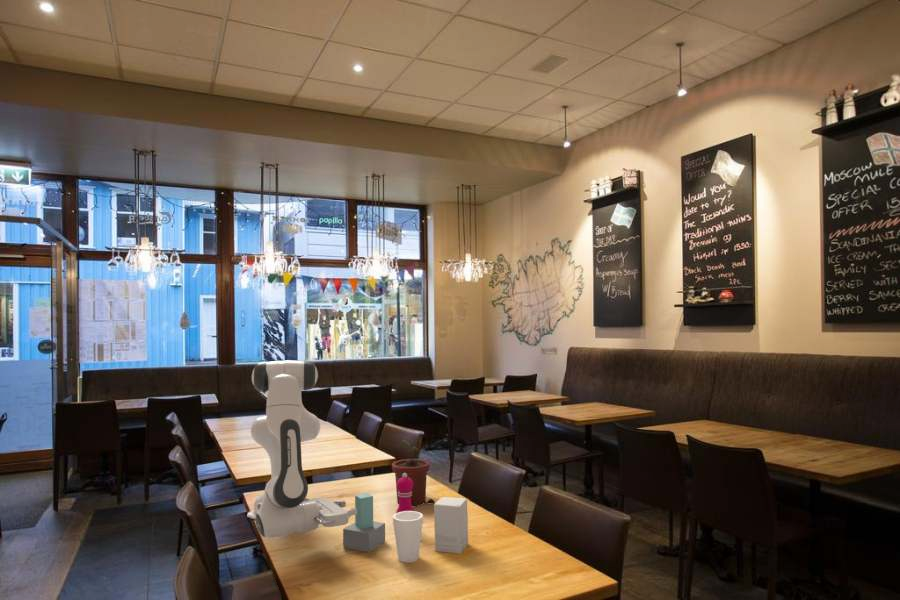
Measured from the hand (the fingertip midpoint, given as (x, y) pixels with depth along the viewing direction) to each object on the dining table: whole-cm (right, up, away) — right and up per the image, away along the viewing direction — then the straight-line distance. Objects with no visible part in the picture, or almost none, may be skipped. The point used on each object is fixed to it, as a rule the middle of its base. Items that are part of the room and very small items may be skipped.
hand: (350, 507), depth 185 cm
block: (+4, -7, +2) cm, 9 cm away
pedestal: (+4, -13, +2) cm, 14 cm away
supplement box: (+33, -13, -2) cm, 36 cm away
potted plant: (+18, -15, +49) cm, 54 cm away
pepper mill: (+17, -14, +15) cm, 26 cm away
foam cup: (+20, -13, -10) cm, 25 cm away
